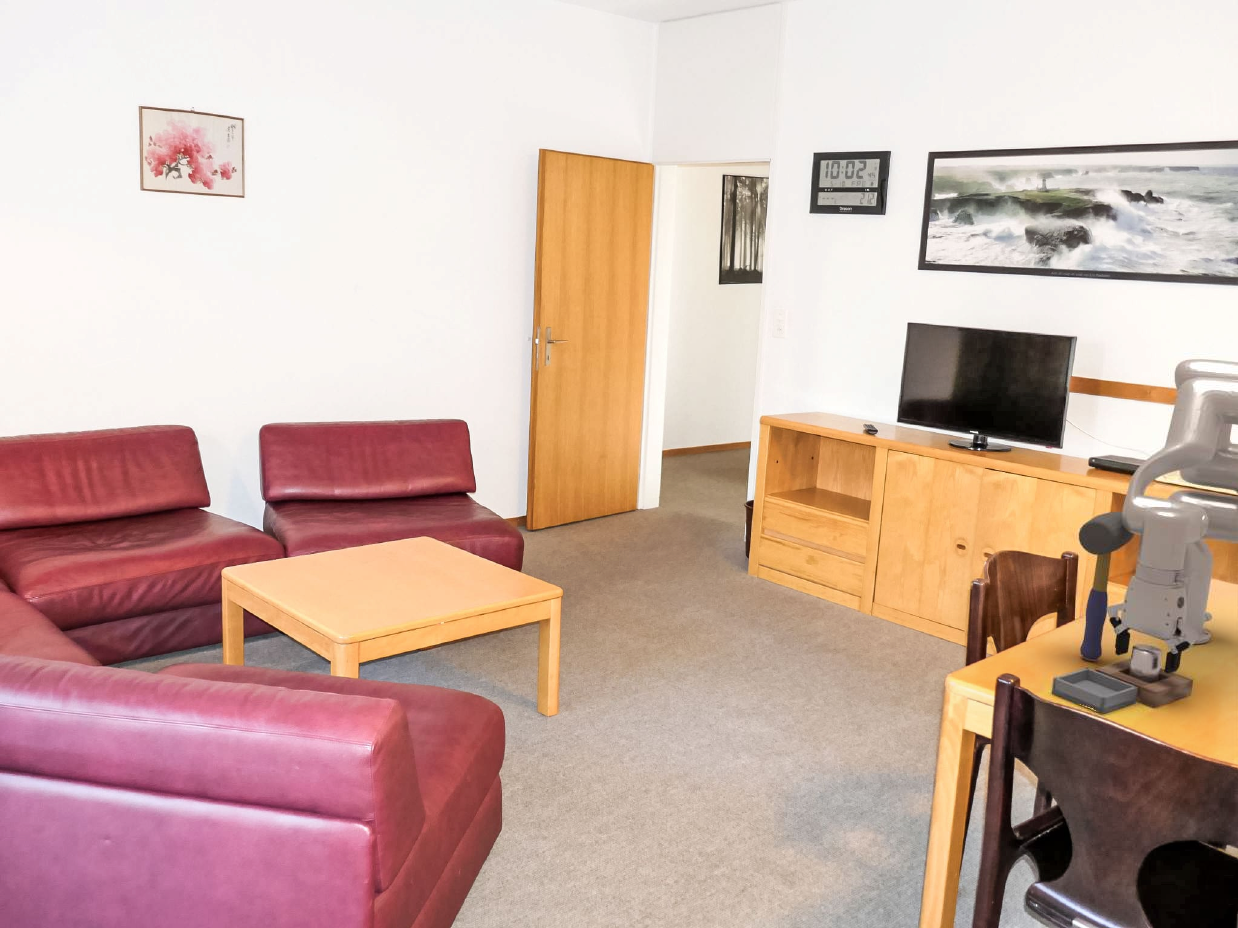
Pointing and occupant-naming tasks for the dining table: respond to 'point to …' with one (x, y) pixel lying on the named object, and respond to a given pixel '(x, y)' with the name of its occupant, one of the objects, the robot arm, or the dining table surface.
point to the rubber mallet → (1100, 574)
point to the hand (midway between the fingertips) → (1145, 662)
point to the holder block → (1154, 693)
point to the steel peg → (1145, 663)
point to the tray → (1094, 690)
